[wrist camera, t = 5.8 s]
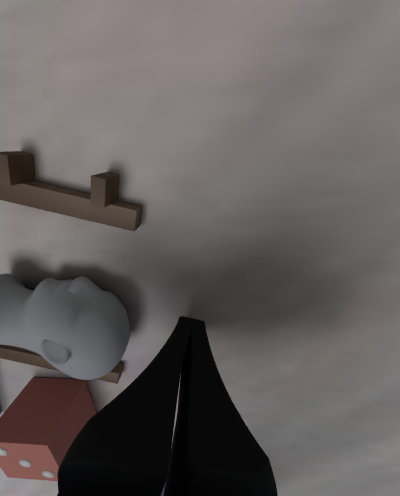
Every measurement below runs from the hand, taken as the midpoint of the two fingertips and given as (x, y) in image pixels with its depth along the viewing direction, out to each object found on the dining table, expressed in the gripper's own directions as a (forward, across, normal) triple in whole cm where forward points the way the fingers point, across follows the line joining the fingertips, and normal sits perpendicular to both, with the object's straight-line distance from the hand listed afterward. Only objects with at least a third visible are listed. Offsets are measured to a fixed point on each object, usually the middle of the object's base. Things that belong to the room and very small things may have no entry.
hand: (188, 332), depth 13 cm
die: (+1, +8, +10) cm, 13 cm away
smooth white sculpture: (+2, +7, 0) cm, 7 cm away
